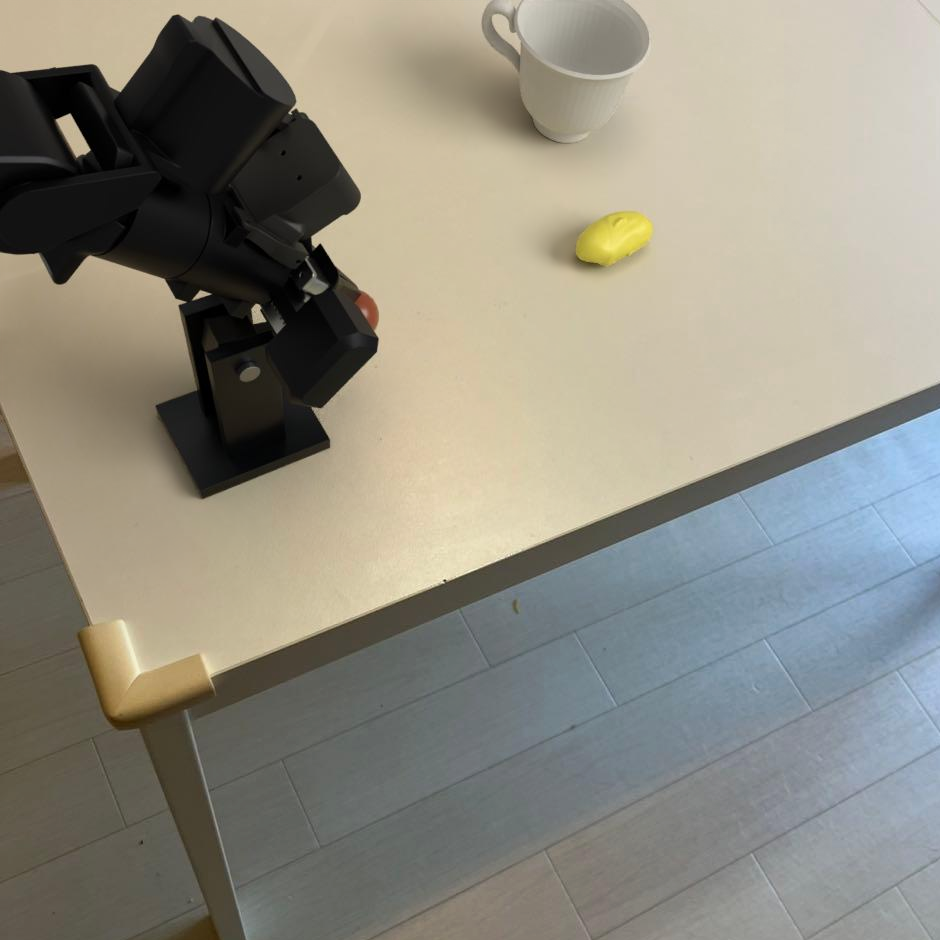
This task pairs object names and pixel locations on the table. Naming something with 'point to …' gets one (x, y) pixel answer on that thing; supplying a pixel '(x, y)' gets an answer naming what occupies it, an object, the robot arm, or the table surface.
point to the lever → (263, 325)
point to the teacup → (571, 59)
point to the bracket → (235, 410)
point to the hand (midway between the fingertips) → (355, 295)
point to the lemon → (614, 237)
